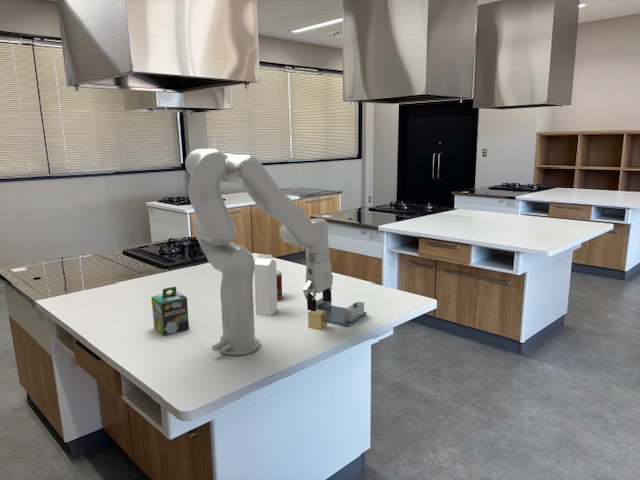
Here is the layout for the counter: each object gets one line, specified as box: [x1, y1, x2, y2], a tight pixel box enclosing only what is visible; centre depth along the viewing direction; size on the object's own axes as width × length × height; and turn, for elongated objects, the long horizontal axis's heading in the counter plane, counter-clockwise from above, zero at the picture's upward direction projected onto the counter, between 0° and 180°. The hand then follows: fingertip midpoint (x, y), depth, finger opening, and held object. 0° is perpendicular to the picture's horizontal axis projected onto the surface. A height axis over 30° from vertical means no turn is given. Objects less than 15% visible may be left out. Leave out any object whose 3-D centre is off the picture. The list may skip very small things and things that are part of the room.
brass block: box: [307, 309, 328, 331], centre depth 157 cm, size 4×5×6 cm
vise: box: [316, 297, 367, 327], centre depth 167 cm, size 14×16×5 cm
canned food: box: [276, 269, 283, 302], centre depth 187 cm, size 8×8×11 cm
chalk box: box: [150, 286, 190, 337], centre depth 156 cm, size 9×9×15 cm
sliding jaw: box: [345, 301, 365, 322], centre depth 163 cm, size 10×2×5 cm, turn 149°
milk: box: [253, 253, 278, 317], centre depth 170 cm, size 6×6×22 cm
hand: (319, 305), depth 157 cm, fingers open, 9 cm apart
